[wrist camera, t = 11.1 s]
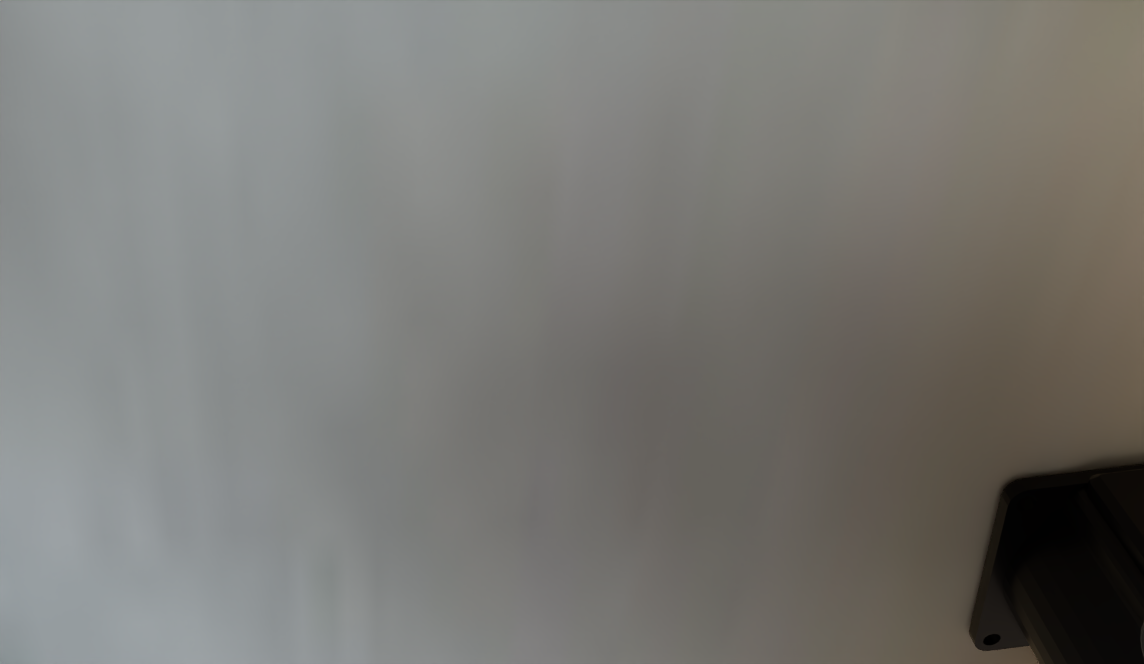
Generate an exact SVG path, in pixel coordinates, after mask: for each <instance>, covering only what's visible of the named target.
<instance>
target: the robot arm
mask: <svg viewBox="0 0 1144 664" xmlns="http://www.w3.org/2000/svg"><path fill="white" fill-rule="evenodd" d="M969 633H970V636H971V638H972V640H973V642H974V644H975V646H976V647H977V648H978V649H980V650H983V651H990V650H998V649H1006V648H1014V647H1023V646H1030V647H1031V649H1032V650H1033V652H1034V654H1035V656H1036V658H1037V660H1038V661H1039V663H1040V664H1144V465H1136V466H1128V467H1119V468H1111V469H1102V470H1094V471H1085V472H1077V473H1068V474H1060V475H1051V476H1043V477H1034V478H1026V479H1021V480H1017V481H1015V482H1013V483H1011V484H1009V485H1008V486H1007V487H1006V488H1005V489H1004V490H1003V492H1002V494H1001V498H1000V502H999V507H998V511H997V515H996V519H995V524H994V528H993V532H992V536H991V541H990V545H989V549H988V553H987V558H986V562H985V566H984V570H983V575H982V579H981V583H980V587H979V592H978V596H977V600H976V604H975V608H974V613H973V617H972V621H971V625H970V630H969Z"/></svg>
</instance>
